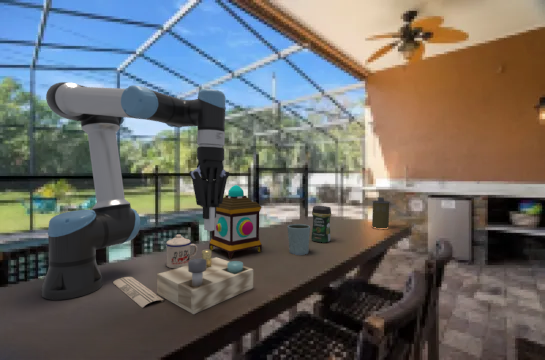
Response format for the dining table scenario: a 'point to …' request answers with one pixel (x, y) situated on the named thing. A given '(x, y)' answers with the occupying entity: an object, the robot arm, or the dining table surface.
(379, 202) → the canister
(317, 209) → the coffee jar
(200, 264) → the grey knob
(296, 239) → the blue cup
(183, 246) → the teacup with lid
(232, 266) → the teal knob
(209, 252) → the brass post
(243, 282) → the mount
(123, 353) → the dining table surface
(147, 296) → the newspaper
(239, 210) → the decorative lantern
